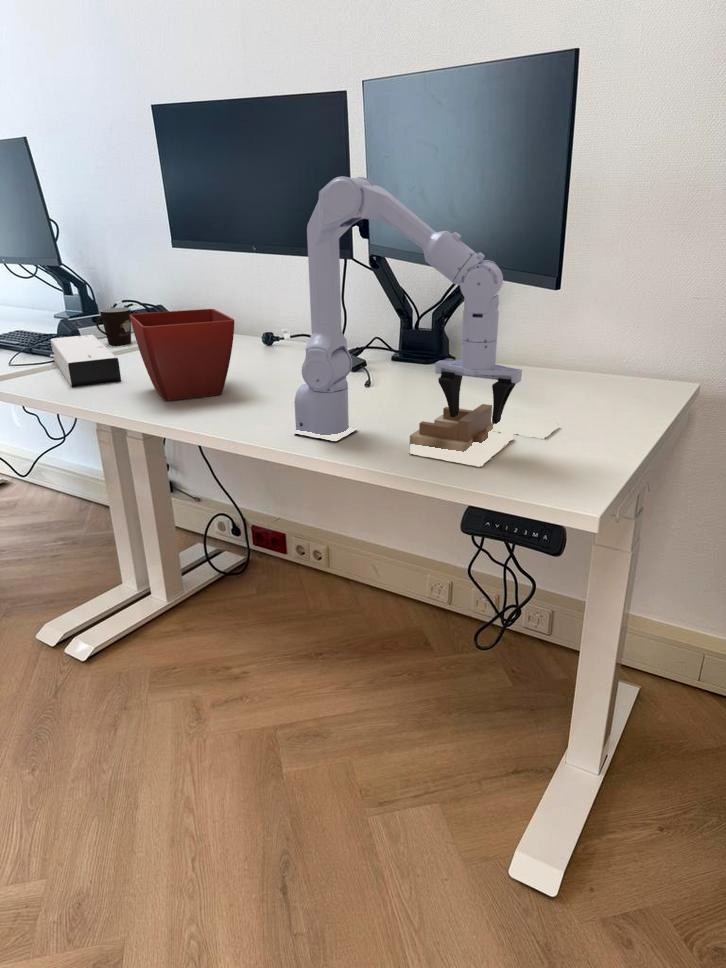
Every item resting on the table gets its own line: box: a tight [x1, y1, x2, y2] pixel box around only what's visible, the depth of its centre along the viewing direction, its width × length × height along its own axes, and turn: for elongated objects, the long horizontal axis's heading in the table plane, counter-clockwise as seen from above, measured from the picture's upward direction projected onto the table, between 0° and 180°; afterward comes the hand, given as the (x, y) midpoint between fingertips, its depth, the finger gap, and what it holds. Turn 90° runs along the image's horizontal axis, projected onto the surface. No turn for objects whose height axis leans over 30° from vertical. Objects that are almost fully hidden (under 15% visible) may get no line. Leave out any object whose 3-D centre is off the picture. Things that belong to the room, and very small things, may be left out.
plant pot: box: [130, 308, 235, 401], centre depth 156 cm, size 19×19×17 cm
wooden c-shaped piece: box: [418, 403, 493, 442], centre depth 122 cm, size 9×11×4 cm
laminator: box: [49, 334, 122, 388], centre depth 179 cm, size 34×12×6 cm, turn 29°
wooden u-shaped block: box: [409, 414, 494, 452], centre depth 123 cm, size 14×16×3 cm
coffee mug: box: [95, 307, 132, 347], centre depth 208 cm, size 12×9×10 cm
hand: (474, 418), depth 120 cm, fingers open, 7 cm apart
